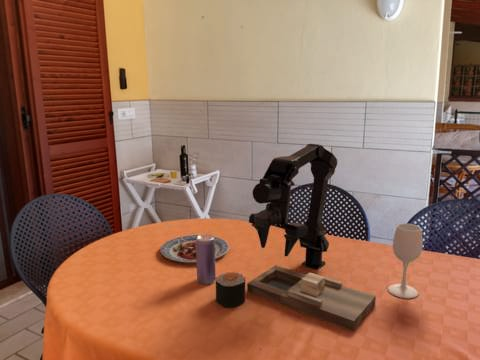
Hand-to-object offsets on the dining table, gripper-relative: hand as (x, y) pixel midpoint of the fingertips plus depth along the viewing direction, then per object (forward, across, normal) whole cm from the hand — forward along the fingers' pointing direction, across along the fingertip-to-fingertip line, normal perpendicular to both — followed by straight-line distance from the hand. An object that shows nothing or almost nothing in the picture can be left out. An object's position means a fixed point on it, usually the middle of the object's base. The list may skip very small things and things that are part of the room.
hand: (274, 251), depth 125 cm
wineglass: (+9, +28, +30) cm, 42 cm away
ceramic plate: (+12, -41, +4) cm, 43 cm away
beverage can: (+14, -20, -8) cm, 26 cm away
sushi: (+15, -6, -11) cm, 19 cm away
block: (+9, +11, +6) cm, 16 cm away
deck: (+12, +10, +6) cm, 17 cm away
